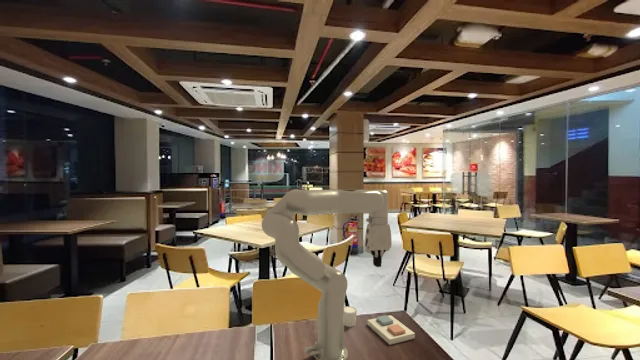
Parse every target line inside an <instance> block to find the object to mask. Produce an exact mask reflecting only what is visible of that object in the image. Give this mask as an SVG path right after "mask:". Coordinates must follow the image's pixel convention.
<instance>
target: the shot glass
mask: <svg viewBox="0 0 640 360" xmlns="http://www.w3.org/2000/svg"><path fill="white" fill-rule="evenodd" d="M357 312H358V310H357V308H355V306H351V305H347V306H344V327H349V328H352V327H354V326H355V325H356V322H357V314H358V313H357Z"/></svg>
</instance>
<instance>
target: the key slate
mask: <svg viewBox="0 0 640 360" xmlns="http://www.w3.org/2000/svg"><path fill="white" fill-rule="evenodd" d="M388 316H389V315H387V314H385V315H384V314H383V315H380V316H376V317H375V318H376V321H377V322H378V323H380V324H381V325H382V326H386V325H391V324H393V320H392V319H391V318H389V317H388Z"/></svg>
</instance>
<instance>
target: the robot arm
mask: <svg viewBox="0 0 640 360" xmlns="http://www.w3.org/2000/svg"><path fill="white" fill-rule="evenodd" d="M361 213H362V214H363V213H364V214H365V213H366V214H367V213H368V218H366V219H365V220H366V222H367V225H366V229H365V236H364V246H365V253H367V254H370V255H371V256H372V263H373V264H372V265H373V266H375V267H376V268H382V263H383V262H382V259H383V257H384V254H385V253H386V252H389V251H390V249H391V248H392V230H391V229H392V228H391V225H390V224H389V223H388V222H389V192H388V191H387V190H385V189H372V190H370V189H369V190H368V189H356V190H353V191H351V190H350V191H349V190H343V189H320V190H319V189H318V190H316V189H313V190H312V189H311V190H310V189H309V190H306V189H305V190H304V189H297V188H296V189H291V190H289V191H288V192H287V193H286V194H284V195H283V196H282V198H280V200H278V201H277V202H276V203H275V205H274V206H273V207H272V208H270V209H269V210H268V212H266V214H265V215H264V217H263V218H262V221H261V229H262V231H263V233H264V234H266V235H267V236H268V237H270V238H272V239H274V250H275V256H276V258H277V260H278V261H279V262H280V263H281V264H282V265H284V267H285V266H286V268H288V270H289V271H290V272H291V274H293V275H295V276H296V277H298V278H300V279H301V280H303V281H304V282H306V283H308V284H309V285H310V286H312V287H313V288H315V289H316V290H318V291H319V292H321V296H320V299H319V301H318V306H317V340H315V341H314V342H315V343H314V344H312V345H311V346H305V347H304V352H305V354H309V353H310V356H311V357H313V358H314V359H315V360H347V359H348V357H349V353H348V352H349V351H348V349H347V347H346V346H344V345H345V343H344V342H345V326H344V307H345V303H346V302H345V301H346V295H347V290H348V280H347V277H346V275H345V274H344V273H343V272H342V271H341V270H339V269H337V268H336V267H333V266H331V265H329V264H327V263H324V262H323V259H321V258H320V256H318V255H317V254H315V253H314V252H311V251H310V250H309V249H307V248H306V247H305V246H303V244H301V243H300V239H299V236H300V228H299V225H298V223H297V221H296V219H294V217H295V216H296V215H297V214H298V215H301V216H317V215H327V214H361Z"/></svg>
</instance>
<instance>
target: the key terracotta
mask: <svg viewBox="0 0 640 360" xmlns="http://www.w3.org/2000/svg"><path fill="white" fill-rule="evenodd" d="M387 330H388V331H389V332H390V333H392V334H393V335H394V336H398V335H402V334H405V329H403V328H402V327H401V326H399V325H398V324H396V325H391V326H387Z"/></svg>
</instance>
